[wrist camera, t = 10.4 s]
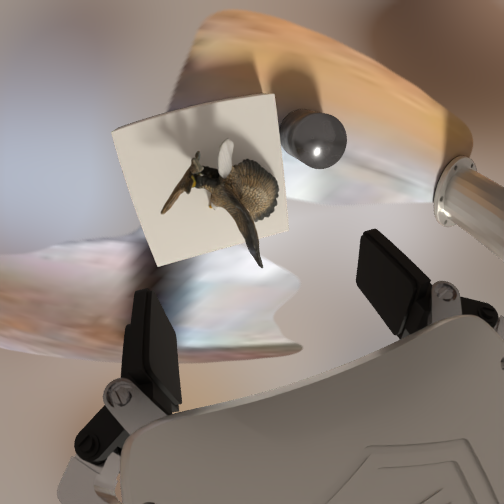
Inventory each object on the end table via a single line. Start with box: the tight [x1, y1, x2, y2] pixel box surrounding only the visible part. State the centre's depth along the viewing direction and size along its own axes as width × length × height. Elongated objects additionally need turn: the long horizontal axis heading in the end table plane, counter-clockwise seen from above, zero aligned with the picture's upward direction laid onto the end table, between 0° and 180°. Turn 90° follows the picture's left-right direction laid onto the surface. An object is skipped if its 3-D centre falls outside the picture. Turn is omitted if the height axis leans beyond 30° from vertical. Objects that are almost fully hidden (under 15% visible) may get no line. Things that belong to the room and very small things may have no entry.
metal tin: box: [279, 109, 347, 169], centre depth 23 cm, size 5×5×4 cm
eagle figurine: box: [161, 138, 279, 268], centre depth 20 cm, size 8×7×9 cm
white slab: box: [111, 93, 289, 267], centre depth 23 cm, size 13×13×3 cm
